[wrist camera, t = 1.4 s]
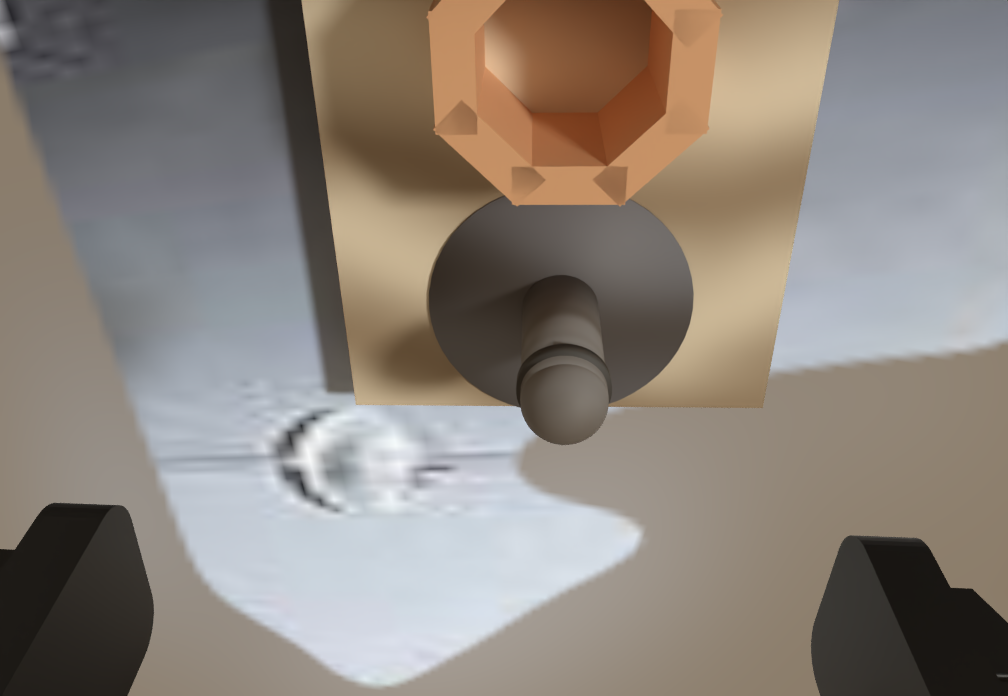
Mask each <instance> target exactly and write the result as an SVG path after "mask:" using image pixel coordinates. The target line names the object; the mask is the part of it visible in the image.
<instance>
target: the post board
mask: <svg viewBox="0 0 1008 696" xmlns="http://www.w3.org/2000/svg"><path fill="white" fill-rule="evenodd" d="M715 1H716V3H717V4H718V5H719V7H720V8H721V13H722V14H723V16H722V17H721V18H720V26H719V35H718V43H717V52H716V60H715V69H714V77H713V86H712V94H711V103H710V111H709V120H708V126H709V128H710V129H709V130H708V131H707V134H703V135H702V136H701V137H700V138H698V139H697V140H696V141H695V142H694V143H693V144H692V145H690V146H689V147H688V148H687V149H686V150H685V151H683V152H682V153H681V154H680V155H679V156H678V157H677V158H675V159H674V160H673V161H672V162H671V163H670V164H669V165H667V166H666V167H665V168H664V169H663V170H662V171H660V172H659V173H658V174H657V175H656V176H655V177H654V178H652V179H651V180H650V181H649V182H648V183H647V184H645V185H644V186H643V187H642V188H641V189H640V190H639V191H637V192H636V193H635V194H634V195H633V196H632V197H631V198H629V199H628V200H627V201H626V202H625V205H621V206H619V205H518V206H516V205H512V202H511V201H510V200H509V199H508V198H507V197H506V196H505V195H504V194H503V193H502V192H500V191H499V190H498V189H497V188H496V187H495V186H494V185H493V184H492V183H491V182H490V181H488V180H487V179H486V178H485V177H484V176H483V175H482V174H481V173H480V172H479V171H478V170H477V169H475V168H474V167H473V166H472V165H471V164H470V163H469V162H468V161H467V160H466V159H465V158H463V157H462V156H461V155H460V154H459V153H458V152H457V151H456V150H455V149H454V148H453V147H451V146H450V145H449V144H448V143H447V142H446V141H445V140H444V139H443V138H442V137H441V136H439V135H436V134H435V131H434V130H433V128H434V124H435V117H434V100H433V84H432V67H431V50H430V33H429V20H428V19H427V18H426V17H427V15H428V11H429V9H430V6H431V4H432V2H433V0H302V8H303V15H304V22H305V30H306V37H307V45H308V52H309V59H310V67H311V74H312V82H313V89H314V97H315V104H316V111H317V119H318V126H319V134H320V141H321V148H322V156H323V163H324V171H325V178H326V186H327V193H328V200H329V208H330V215H331V223H332V230H333V237H334V245H335V252H336V260H337V267H338V275H339V282H340V289H341V297H342V304H343V312H344V319H345V326H346V334H347V341H348V349H349V356H350V364H351V371H352V378H353V386H354V393H355V401H356V405H454V406H517V407H520V408H521V411H522V414H523V417H524V419H525V421H526V423H527V425H528V426H529V428H530V429H531V430H532V431H533V432H534V433H535V434H536V435H537V436H539V437H540V438H542V439H544V440H546V441H548V442H550V443H554V444H560V445H569V444H576V443H579V442H582V441H584V440H586V439H587V438H589V437H591V436H592V435H593V434H594V433H595V432H596V431H597V430H598V429H599V428H600V426H601V425H602V424H603V421H604V420H605V417H606V415H607V411H608V407H715V408H716V407H717V408H718V407H721V408H762V407H763V403H764V398H765V392H766V387H767V381H768V376H769V371H770V366H771V360H772V355H773V350H774V344H775V339H776V334H777V328H778V323H779V318H780V312H781V307H782V302H783V296H784V291H785V286H786V280H787V275H788V270H789V264H790V259H791V254H792V248H793V243H794V238H795V232H796V227H797V222H798V216H799V211H800V206H801V200H802V195H803V190H804V184H805V179H806V174H807V168H808V163H809V158H810V152H811V147H812V142H813V136H814V131H815V126H816V120H817V115H818V110H819V104H820V99H821V94H822V88H823V83H824V78H825V72H826V67H827V62H828V56H829V51H830V46H831V40H832V35H833V30H834V24H835V19H836V14H837V8H838V3H839V0H715ZM651 14H652V8H651V7H650V6H649V5H648V4H647V3H646V2H645V0H505V2H504V3H503V4H502V5H501V6H500V7H499V8H498V9H497V10H496V11H495V12H494V13H493V14H492V16H491V17H490V18H489V19H488V20H487V21H486V22H485V23H484V35H485V67H486V68H487V69H488V70H490V71H491V72H492V73H493V74H494V75H495V76H496V77H497V78H498V79H499V80H500V81H501V82H502V83H503V84H504V85H505V86H506V87H507V88H508V89H509V90H510V91H511V92H512V93H513V94H514V95H515V96H516V97H517V98H518V99H519V100H520V101H521V102H522V103H523V104H524V105H525V106H526V107H527V108H528V109H529V110H530V111H531V112H532V113H591V112H599V111H600V110H601V109H602V108H603V107H604V106H605V105H606V104H607V103H608V102H609V101H610V100H611V99H613V98H614V97H615V96H616V95H617V94H618V93H619V92H620V91H621V90H622V89H623V88H624V87H625V86H626V85H627V84H628V83H630V82H631V81H632V80H633V79H634V78H635V77H636V76H637V75H638V74H639V73H640V72H641V71H642V70H643V69H644V68H645V67H647V66H648V54H649V40H650V27H651Z"/></svg>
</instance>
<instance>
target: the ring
mask: <svg viewBox="0 0 1008 696" xmlns="http://www.w3.org/2000/svg"><path fill="white" fill-rule="evenodd" d="M504 2H505V0H433V2H432V4H431V6H430V9H429V11H428V15H427V17H426V18H427V19H428V20H429V33H430V50H431V67H432V84H433V100H434V117H435V124H434V128H433V130H434V131H435V134H436V135H439V136H441V137H442V138H443V139H444V140H445V141H446V142H447V143H448V144H449V145H450V146H451V147H453V148H454V149H455V150H456V151H457V152H458V153H459V154H460V155H461V156H462V157H463V158H465V159H466V160H467V161H468V162H469V163H470V164H471V165H472V166H473V167H474V168H475V169H477V170H478V171H479V172H480V173H481V174H482V175H483V176H484V177H485V178H486V179H487V180H488V181H490V182H491V183H492V184H493V185H494V186H495V187H496V188H497V189H498V190H499V191H500V192H502V193H503V194H504V195H505V196H506V197H507V198H508V199H509V200H510V201H511V202H512V205H516V206H518V205H619V206H621V205H625V202H626V201H627V200H628V199H629V198H631V197H632V196H633V195H634V194H635V193H636V192H637V191H639V190H640V189H641V188H642V187H643V186H644V185H645V184H647V183H648V182H649V181H650V180H651V179H652V178H654V177H655V176H656V175H657V174H658V173H659V172H660V171H662V170H663V169H664V168H665V167H666V166H667V165H669V164H670V163H671V162H672V161H673V160H674V159H675V158H677V157H678V156H679V155H680V154H681V153H682V152H683V151H685V150H686V149H687V148H688V147H689V146H690V145H692V144H693V143H694V142H695V141H696V140H697V139H698V138H700V137H701V136H702V135H703V134H707V131H708V130H709V129H710V128H709V126H708V120H709V111H710V103H711V94H712V86H713V77H714V69H715V60H716V52H717V43H718V35H719V26H720V18H721V17H722V16H723V14H722V13H721V8H720V7H719V5H718V4H717V3H716V1H715V0H645V2H646V3H647V4H648V5H649V6H650V7H651V8H652V14H651V27H650V40H649V54H648V66H647V67H645V68H644V69H643V70H642V71H641V72H640V73H639V74H638V75H637V76H636V77H635V78H634V79H633V80H632V81H631V82H630V83H628V84H627V85H626V86H625V87H624V88H623V89H622V90H621V91H620V92H619V93H618V94H617V95H616V96H615V97H614V98H613V99H611V100H610V101H609V102H608V103H607V104H606V105H605V106H604V107H603V108H602V109H601V110H600V111H599V112H591V113H532V112H531V111H530V110H529V109H528V108H527V107H526V106H525V105H524V104H523V103H522V102H521V101H520V100H519V99H518V98H517V97H516V96H515V95H514V94H513V93H512V92H511V91H510V90H509V89H508V88H507V87H506V86H505V85H504V84H503V83H502V82H501V81H500V80H499V79H498V78H497V77H496V76H495V75H494V74H493V73H492V72H491V71H490V70H488V69H487V68H486V67H485V35H484V23H485V22H486V21H487V20H488V19H489V18H490V17H491V16H492V14H493V13H494V12H495V11H496V10H497V9H498V8H499V7H500V6H501V5H502V4H503V3H504Z"/></svg>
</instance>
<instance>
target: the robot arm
mask: <svg viewBox="0 0 1008 696" xmlns="http://www.w3.org/2000/svg"><path fill="white" fill-rule="evenodd" d="M153 616H154V605H153V597H152V593H151V589H150V586H149V582H148V578H147V575H146V571H145V567H144V564H143V560H142V556H141V553H140V549H139V546H138V542H137V538H136V534H135V531H134V527H133V523H132V520H131V517H130V514H129V512H128V510H127V509H126V508H125V507H123V506H120V505H97V504H70V503H53V504H50V505H48V506H46V507H45V508H44V509H43V510H42V511H41V512H40V514H39V515H38V516H37V517H36V519H35V520H34V522H33V523H32V525H31V526H30V528H29V530H28V531H27V532H26V534H25V535H24V537H23V539H22V540H21V541H20V543H19V545H18V546H17V547H16V549H15V550H6V549H0V696H127V695H128V693H129V691H130V688H131V686H132V684H133V681H134V679H135V677H136V675H137V672H138V670H139V668H140V666H141V663H142V661H143V659H144V656H145V654H146V651H147V648H148V645H149V641H150V637H151V633H152V626H153ZM811 642H812V643H811V653H812V664H813V671H814V675H815V680H816V683H817V686H818V690H819V693H820V696H1008V623H1007V622H1006V621H1005V620H1004V619H1003V618H1002V617H1001V616H1000V615H999V614H998V613H997V612H996V611H995V610H994V609H993V608H992V607H991V606H990V605H989V604H987V603H986V602H985V601H984V600H983V599H982V598H981V597H980V596H979V595H978V594H977V593H976V592H975V591H974V590H973V589H964V588H950V586H949V584H948V582H947V580H946V578H945V577H944V575H943V573H942V571H941V569H940V567H939V565H938V563H937V561H936V560H935V558H934V556H933V554H932V552H931V550H930V549H929V547H928V546H927V545H926V544H925V543H924V542H923V541H922V540H920V539H918V538H902V537H875V536H848V537H846V538H845V539H844V540H843V542H842V544H841V546H840V548H839V551H838V555H837V557H836V560H835V563H834V566H833V569H832V572H831V575H830V578H829V581H828V583H827V587H826V590H825V593H824V596H823V598H822V601H821V604H820V607H819V610H818V613H817V616H816V619H815V622H814V626H813V631H812V640H811Z"/></svg>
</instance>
